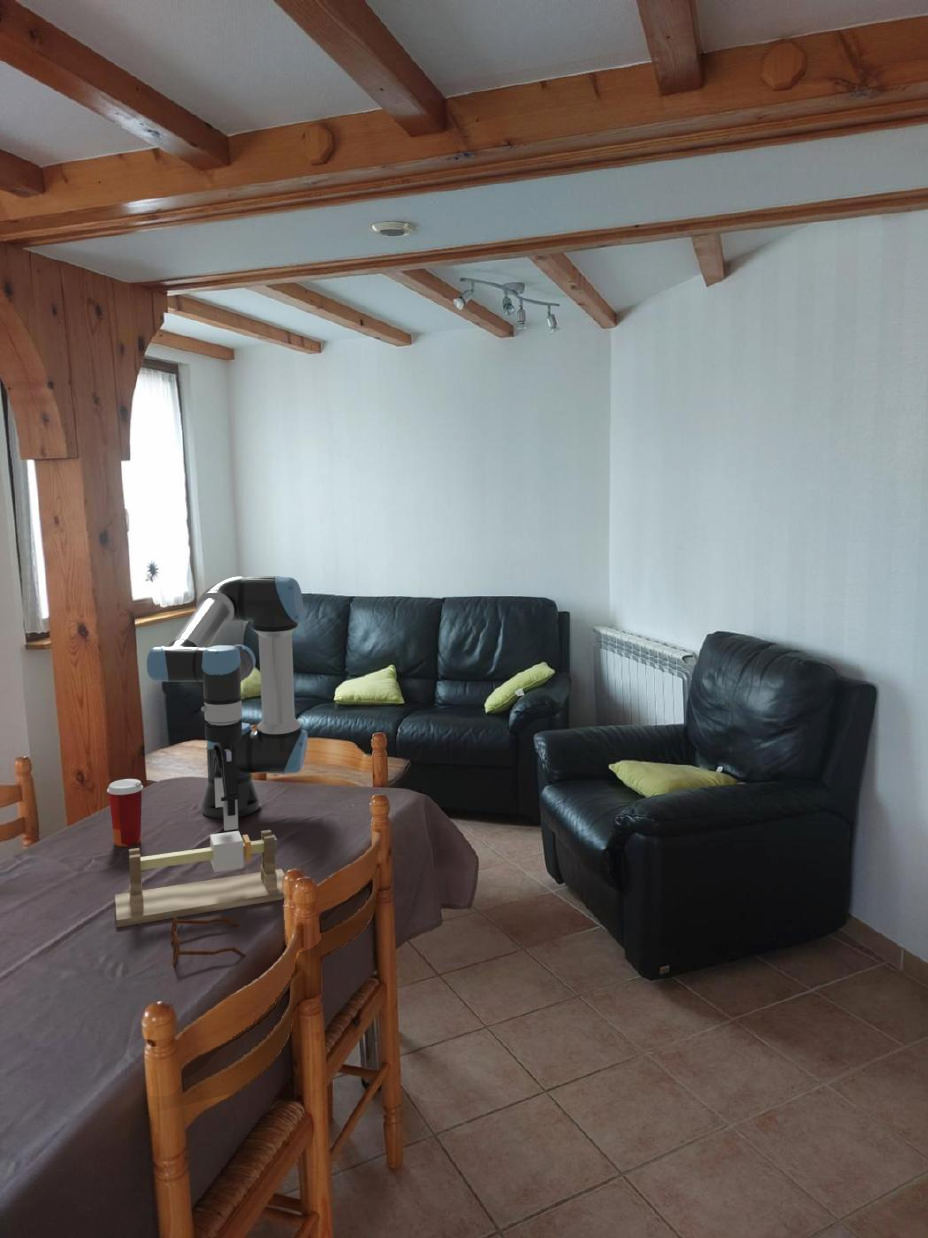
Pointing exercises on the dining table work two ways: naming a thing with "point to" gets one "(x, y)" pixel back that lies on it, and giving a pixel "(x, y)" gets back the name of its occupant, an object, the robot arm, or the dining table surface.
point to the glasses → (177, 952)
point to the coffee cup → (126, 811)
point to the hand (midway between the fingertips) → (226, 817)
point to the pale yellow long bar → (199, 855)
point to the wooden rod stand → (198, 891)
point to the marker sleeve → (227, 851)
